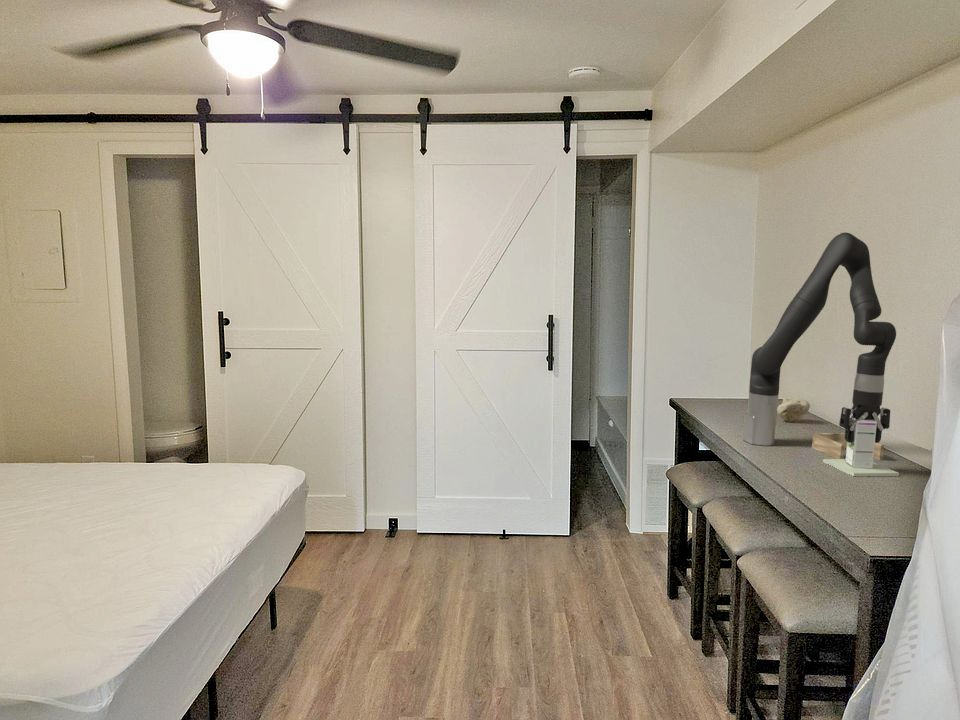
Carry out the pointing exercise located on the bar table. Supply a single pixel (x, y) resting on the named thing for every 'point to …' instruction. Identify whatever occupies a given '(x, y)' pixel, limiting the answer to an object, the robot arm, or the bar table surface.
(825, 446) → the u-shaped pine frame
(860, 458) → the syrup box
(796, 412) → the decorative item
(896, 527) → the bar table surface
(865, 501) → the bar table surface
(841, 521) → the bar table surface
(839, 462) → the sage mat
